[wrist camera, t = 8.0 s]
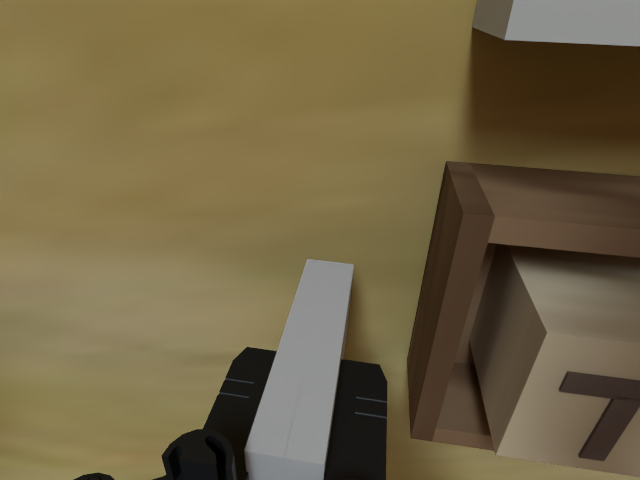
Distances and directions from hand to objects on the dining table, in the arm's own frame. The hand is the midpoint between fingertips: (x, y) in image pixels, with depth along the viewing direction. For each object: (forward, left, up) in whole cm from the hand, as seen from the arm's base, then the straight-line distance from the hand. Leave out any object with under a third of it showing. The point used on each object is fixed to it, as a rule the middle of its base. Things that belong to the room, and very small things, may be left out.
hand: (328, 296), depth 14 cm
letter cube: (+7, 0, -1) cm, 7 cm away
